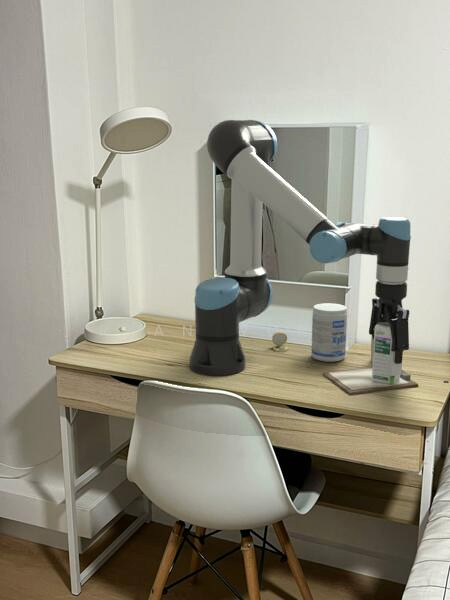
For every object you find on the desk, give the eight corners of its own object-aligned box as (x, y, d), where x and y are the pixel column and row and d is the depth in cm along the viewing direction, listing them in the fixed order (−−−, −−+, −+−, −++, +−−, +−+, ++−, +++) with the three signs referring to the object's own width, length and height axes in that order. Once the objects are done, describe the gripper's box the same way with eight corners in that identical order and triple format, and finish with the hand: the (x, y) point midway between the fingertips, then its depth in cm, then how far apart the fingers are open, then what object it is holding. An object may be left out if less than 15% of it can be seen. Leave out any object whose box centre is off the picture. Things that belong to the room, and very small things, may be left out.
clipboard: (323, 374, 184) (323, 368, 183) (387, 367, 189) (387, 360, 189) (349, 394, 170) (349, 387, 169) (418, 386, 175) (418, 379, 175)
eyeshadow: (274, 352, 202) (275, 335, 201) (271, 347, 207) (271, 331, 206) (289, 351, 202) (290, 335, 201) (286, 346, 207) (286, 330, 206)
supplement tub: (338, 365, 191) (340, 313, 187) (305, 359, 195) (307, 308, 192) (350, 355, 199) (352, 305, 196) (319, 350, 204) (320, 301, 200)
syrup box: (370, 380, 176) (373, 325, 173) (378, 374, 181) (382, 320, 178) (393, 385, 173) (396, 328, 170) (400, 378, 178) (404, 323, 175)
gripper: (429, 289, 163) (422, 381, 168) (383, 271, 182) (378, 355, 187) (400, 291, 160) (394, 385, 166) (357, 273, 180) (353, 358, 185)
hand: (386, 369), depth 177 cm, fingers closed on syrup box, 8 cm apart
